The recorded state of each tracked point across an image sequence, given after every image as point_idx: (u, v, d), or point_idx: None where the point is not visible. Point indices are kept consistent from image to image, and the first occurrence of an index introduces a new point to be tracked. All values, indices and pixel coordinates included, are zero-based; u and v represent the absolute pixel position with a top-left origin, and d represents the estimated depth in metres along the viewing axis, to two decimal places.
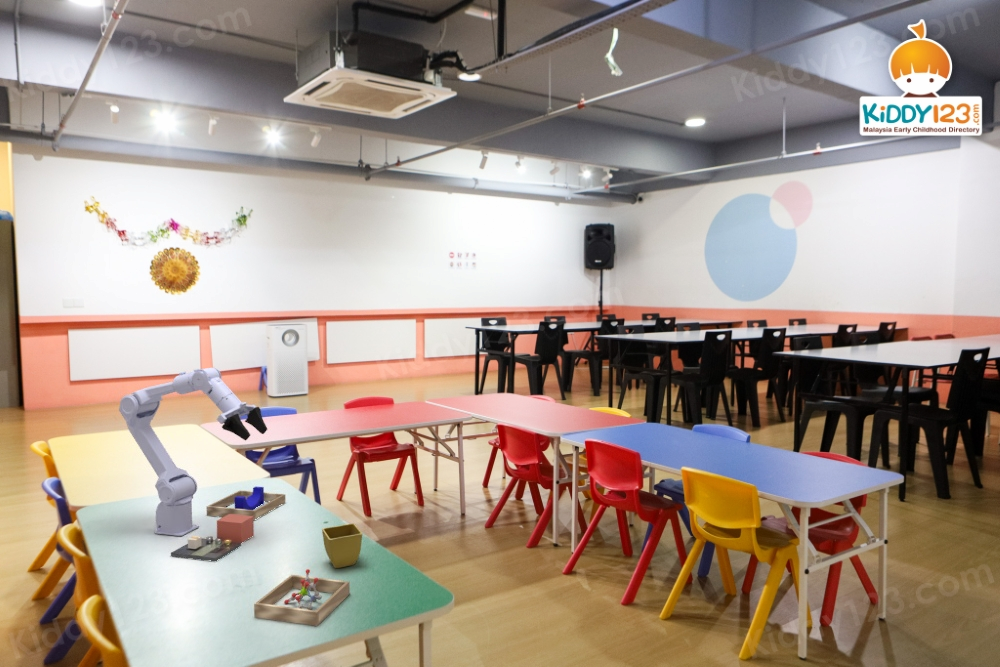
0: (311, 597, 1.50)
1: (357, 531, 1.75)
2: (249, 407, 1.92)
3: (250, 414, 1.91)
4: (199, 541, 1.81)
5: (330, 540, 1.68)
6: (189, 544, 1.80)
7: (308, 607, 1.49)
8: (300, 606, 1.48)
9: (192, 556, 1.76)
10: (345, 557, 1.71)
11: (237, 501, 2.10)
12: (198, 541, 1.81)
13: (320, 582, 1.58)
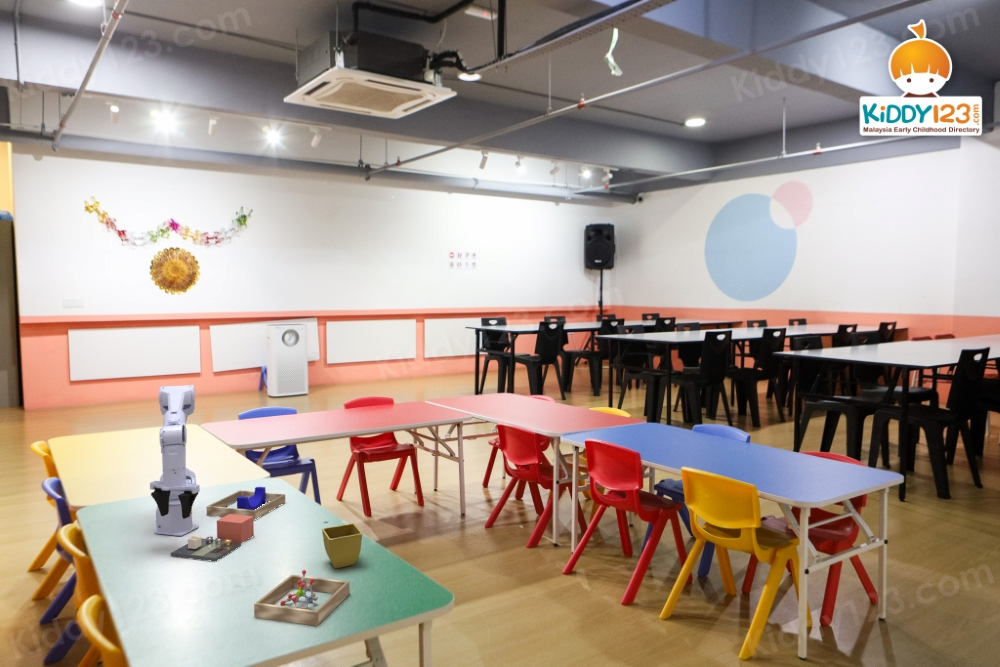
0: (307, 598, 1.50)
1: (357, 531, 1.75)
2: None
3: None
4: (199, 541, 1.81)
5: (330, 540, 1.68)
6: (189, 544, 1.80)
7: (304, 608, 1.49)
8: (296, 607, 1.47)
9: (192, 556, 1.76)
10: (345, 557, 1.71)
11: (239, 501, 2.10)
12: (198, 541, 1.81)
13: (320, 582, 1.58)
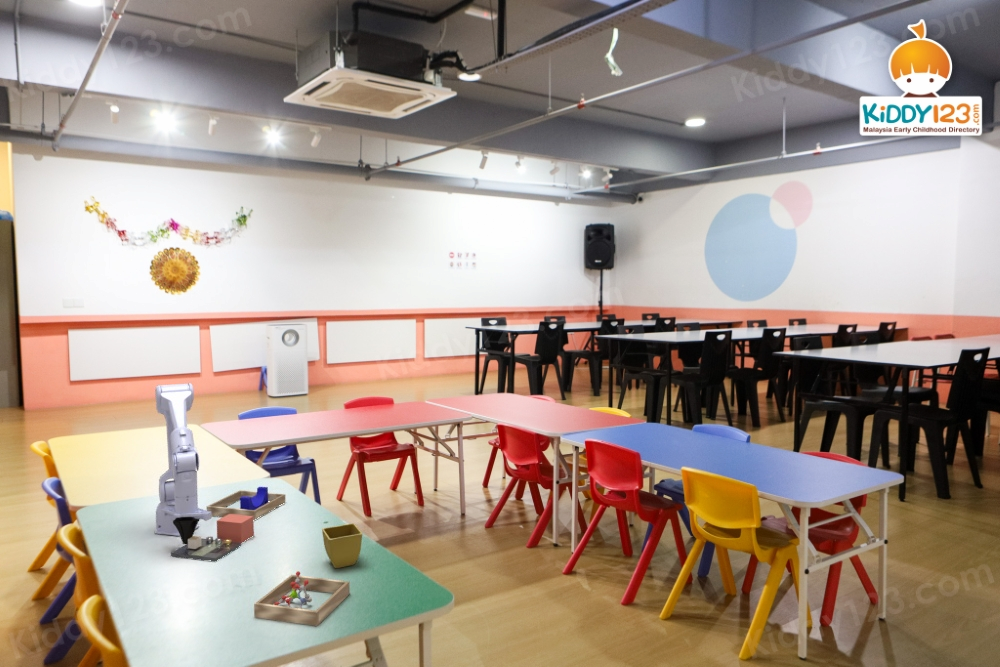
0: (301, 600, 1.49)
1: (357, 531, 1.75)
2: None
3: None
4: (199, 541, 1.81)
5: (330, 540, 1.68)
6: (189, 544, 1.80)
7: None
8: None
9: (192, 556, 1.76)
10: (345, 557, 1.71)
11: (243, 501, 2.10)
12: (198, 541, 1.81)
13: (320, 582, 1.58)
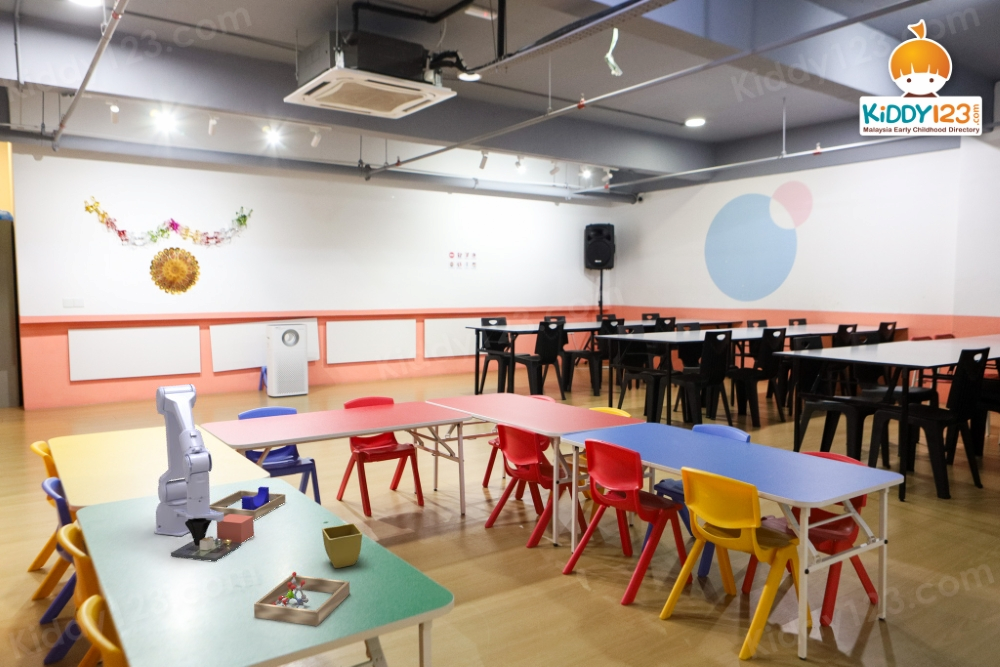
0: (298, 600, 1.49)
1: (357, 531, 1.75)
2: None
3: None
4: (211, 542, 1.80)
5: (330, 540, 1.68)
6: (201, 545, 1.79)
7: None
8: None
9: (192, 556, 1.76)
10: (345, 557, 1.71)
11: (244, 501, 2.10)
12: (210, 543, 1.80)
13: (320, 582, 1.58)
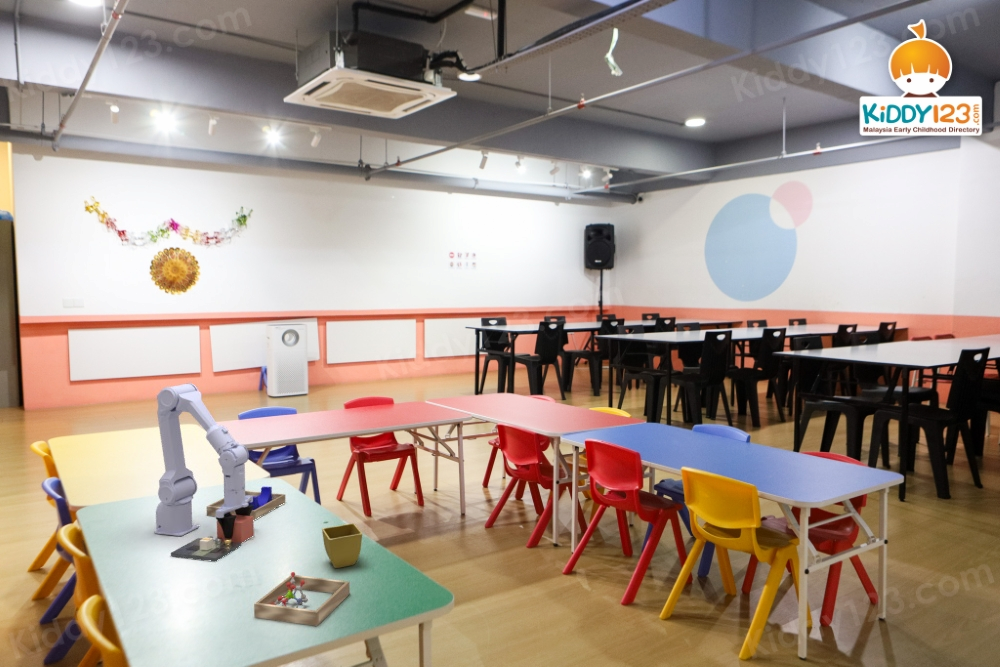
0: (297, 600, 1.49)
1: (357, 531, 1.75)
2: None
3: (242, 507, 1.93)
4: (211, 542, 1.80)
5: (330, 540, 1.68)
6: (201, 545, 1.79)
7: None
8: None
9: (192, 556, 1.76)
10: (345, 557, 1.71)
11: None
12: (210, 543, 1.80)
13: (320, 582, 1.58)
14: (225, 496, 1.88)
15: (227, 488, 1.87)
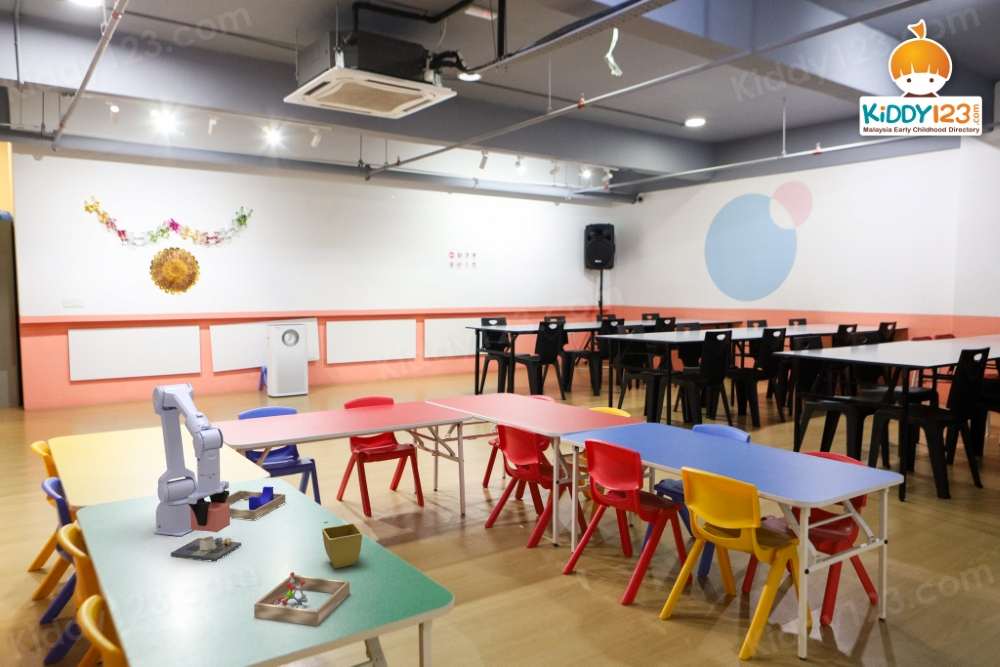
0: (298, 600, 1.49)
1: (357, 531, 1.75)
2: None
3: (217, 494, 1.84)
4: (211, 542, 1.80)
5: (330, 540, 1.68)
6: (201, 545, 1.79)
7: None
8: None
9: (192, 556, 1.76)
10: (345, 557, 1.71)
11: (251, 501, 2.10)
12: (210, 543, 1.80)
13: (320, 582, 1.58)
14: (198, 481, 1.78)
15: (198, 472, 1.78)
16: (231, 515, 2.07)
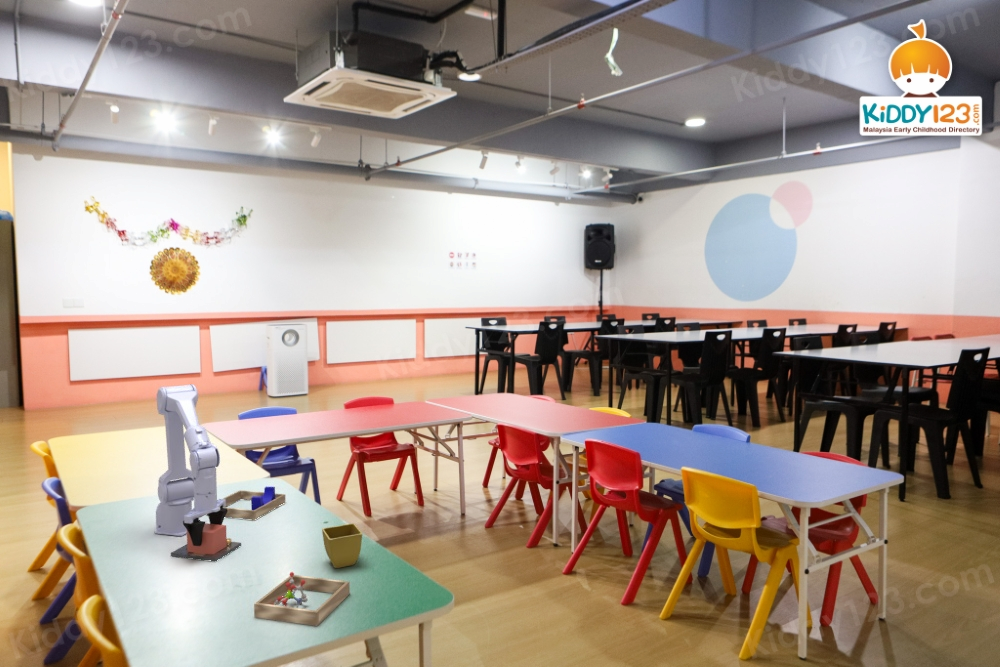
0: (298, 600, 1.49)
1: (357, 531, 1.75)
2: None
3: (215, 511, 1.83)
4: None
5: (330, 540, 1.68)
6: None
7: None
8: None
9: (192, 556, 1.76)
10: (345, 557, 1.71)
11: (254, 501, 2.10)
12: None
13: (320, 582, 1.58)
14: (195, 500, 1.77)
15: (194, 491, 1.77)
16: (231, 515, 2.07)
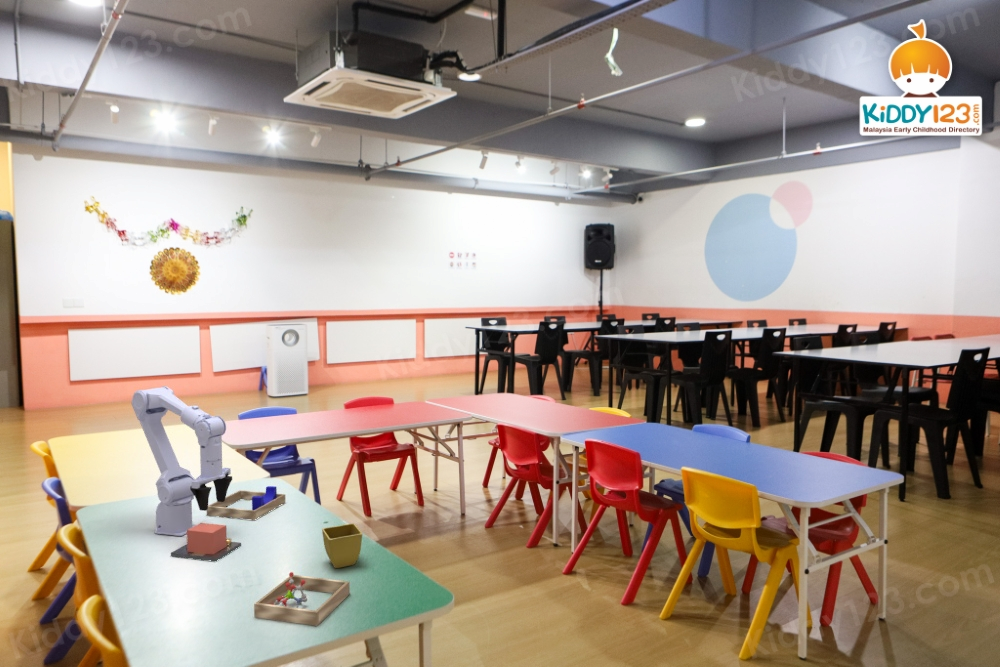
0: (298, 600, 1.49)
1: (357, 531, 1.75)
2: None
3: (221, 479, 1.93)
4: None
5: (330, 540, 1.68)
6: None
7: None
8: None
9: (192, 556, 1.76)
10: (345, 557, 1.71)
11: (255, 501, 2.10)
12: None
13: (320, 582, 1.58)
14: (201, 467, 1.87)
15: (202, 459, 1.86)
16: (231, 515, 2.07)
